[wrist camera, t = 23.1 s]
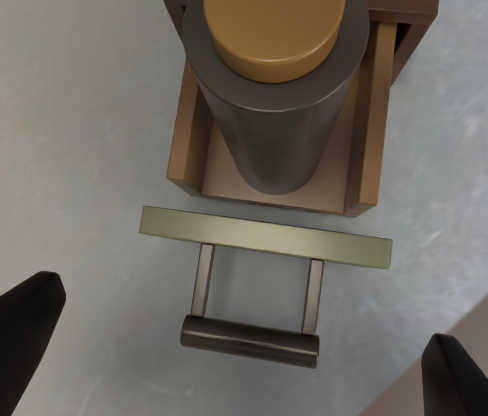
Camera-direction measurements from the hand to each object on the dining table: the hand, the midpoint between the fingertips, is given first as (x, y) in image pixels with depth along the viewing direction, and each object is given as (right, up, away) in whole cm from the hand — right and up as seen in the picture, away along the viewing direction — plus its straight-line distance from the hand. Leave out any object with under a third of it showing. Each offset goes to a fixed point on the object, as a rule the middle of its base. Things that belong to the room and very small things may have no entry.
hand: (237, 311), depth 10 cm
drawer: (+2, +3, +12) cm, 13 cm away
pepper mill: (+2, +5, +12) cm, 13 cm away
